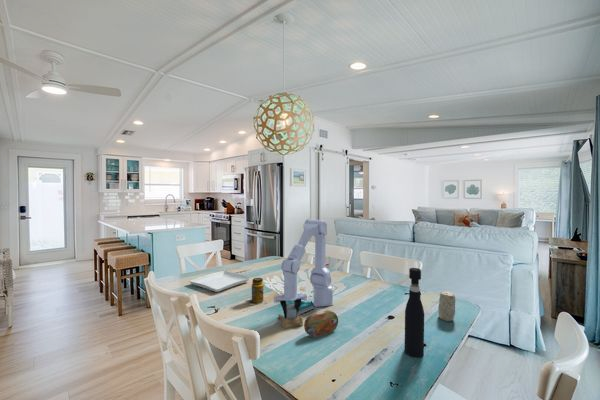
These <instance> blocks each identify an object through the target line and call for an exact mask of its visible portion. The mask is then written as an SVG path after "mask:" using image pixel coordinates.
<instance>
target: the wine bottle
mask: <svg viewBox="0 0 600 400" xmlns="http://www.w3.org/2000/svg"><path fill="white" fill-rule="evenodd" d="M408 271H409V272H408V273H409V274H408V277H409V279H410V280H411V281H410V285H409V292H408V300H407V302H406V305H405V309H404V353H405V354H406V355H407V356H409V357H412V358H415V357H416V358H417V359H418V358H422V357H424V353H425V310H424V306H423V303H422V299H421V296H422V295H421V289H420V288H421V287H420V280H421V279H422V269H421V268H418V267H417V268H416V267H411V268H409V270H408Z"/></svg>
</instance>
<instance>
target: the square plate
mask: <svg viewBox="0 0 600 400" xmlns="http://www.w3.org/2000/svg"><path fill="white" fill-rule="evenodd" d="M250 279H252V277H251V276H248V275H244V274H242V273H236V272H232V271H228V270H221V271H217V272H213V273H210V274H206V275H202V276H200V277H196V278H193V279H190V280H188V283H190V284H192V285H193V286H196V287H201V288H204V289H207V290H209V291H212V292H216V293H219V292H221V291H224V290H227V289H231V288H234V287H236V286H239V285H241V284H243V283H247V282H248V281H249V280H250Z"/></svg>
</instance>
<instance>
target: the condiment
mask: <svg viewBox="0 0 600 400" xmlns="http://www.w3.org/2000/svg"><path fill="white" fill-rule="evenodd" d="M263 280H264V279H263V278H261V277H253V278H252V284H251V299H249V300H247V299H246V300H245V302H246V303H247V304H249V306H255V305H260V304H261V305H262V304H264V303H267V301H265V300H264V281H263Z"/></svg>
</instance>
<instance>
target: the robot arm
mask: <svg viewBox="0 0 600 400" xmlns="http://www.w3.org/2000/svg"><path fill="white" fill-rule="evenodd" d="M327 234H328V224H327V222H326V221H325V220H324V219H321V220H320V219H311V218H307V219H305V221H304V224H303V231H302V234H301V236H300V238H299V241H298V243H297V244H295V245H293V247H292V248H291V251H290V253H289V255H288V256H287V258H285V259H284V260H283V261H282V263H281V266H280V269H281V271H282V275H283V294H282V295H277V296H273V302H274V303H276V304H277V303H280V305H281V308H282V311H283V318H284V317H285V318H286V317H287V314H286V308H287V302H293V305H294V306H295V308H296V317H297V313H298V314H299V310H300V307H301V305H302V303H303V301H302V300H304V301H307V300H308V295H307V293H298V272H299V271H300V268H301V263H302V262H301V260H302V259H303V257H304V254H305V253H306V249H305V247H306V246H307V245H308V243H309V242H310V240H311V238H312V236H313V237H314V239H315V241H314V243H315V244H314V248H315V249H314V250H315V253H314V255H315V256H314V268H313V269H311V271H310V277H309V281H310V283H311V286H312V287H313V300H314V301H312V302H311V303H312V305H313V306H314V307H315V308H316V307H317V308H318V307H329V306H334V303H333V300H334V299H333V296H334V295H333V294H334V293H333V287H332V286H331V284H332V275H331V271H330V270H329V269H328V268H327V267H326V247H327V246H326V241H327V240H326V239H327V238H326V236H327Z"/></svg>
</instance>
